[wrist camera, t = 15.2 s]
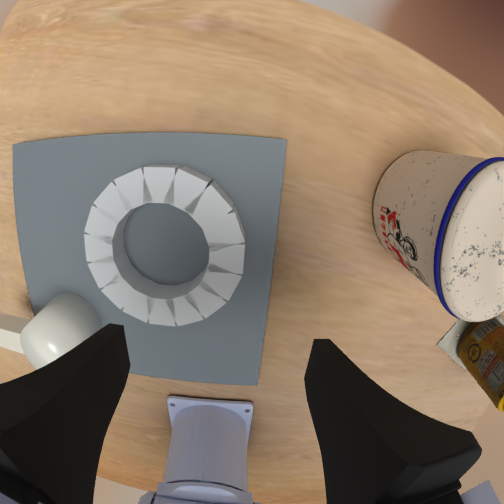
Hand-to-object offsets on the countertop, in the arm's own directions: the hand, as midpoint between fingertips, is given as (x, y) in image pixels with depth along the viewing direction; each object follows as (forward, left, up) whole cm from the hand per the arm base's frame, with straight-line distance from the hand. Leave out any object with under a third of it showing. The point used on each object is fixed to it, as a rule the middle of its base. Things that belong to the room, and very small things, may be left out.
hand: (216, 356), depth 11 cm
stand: (-2, +7, -10) cm, 13 cm away
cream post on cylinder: (-6, +14, -9) cm, 18 cm away
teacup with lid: (+4, -15, -11) cm, 19 cm away
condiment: (-7, -26, -11) cm, 29 cm away
